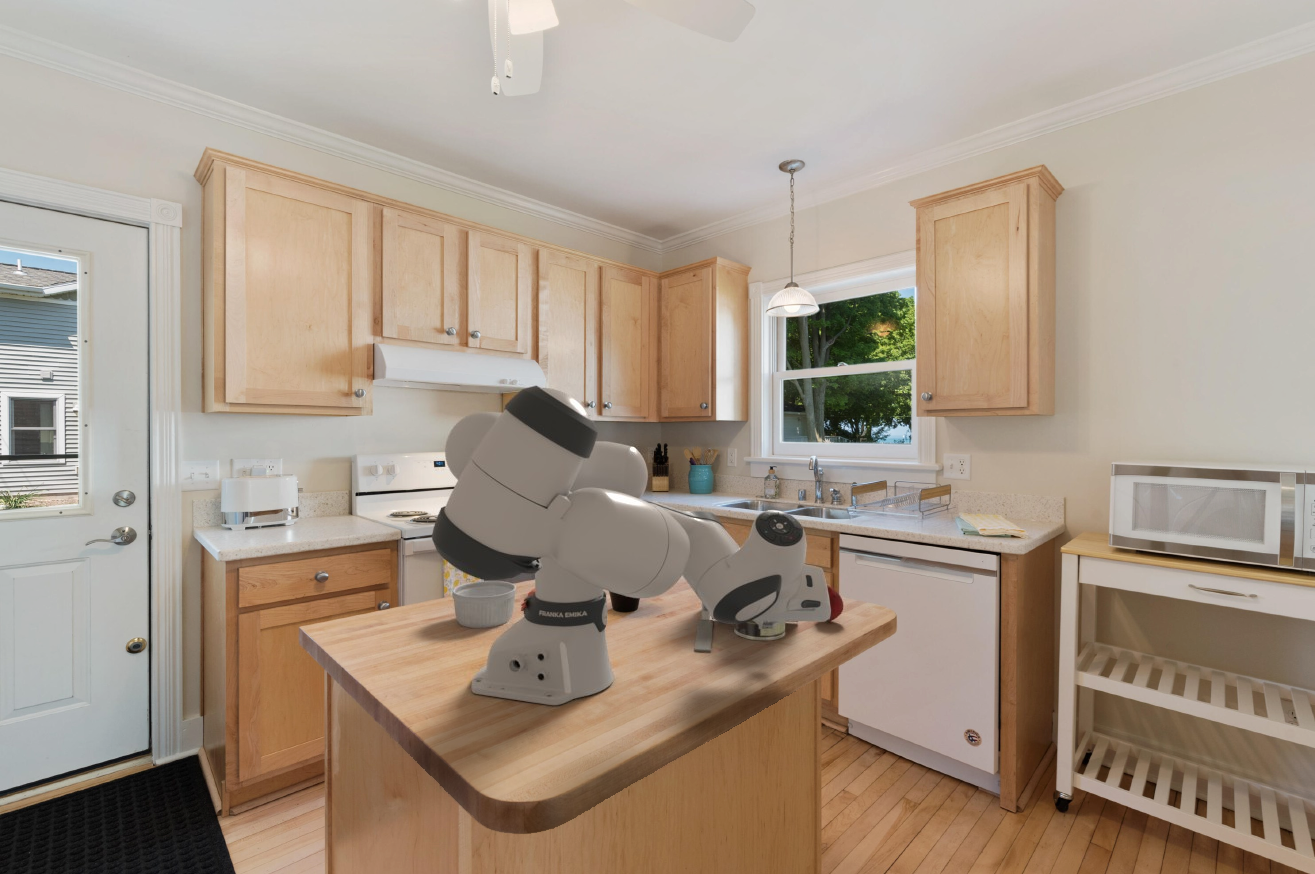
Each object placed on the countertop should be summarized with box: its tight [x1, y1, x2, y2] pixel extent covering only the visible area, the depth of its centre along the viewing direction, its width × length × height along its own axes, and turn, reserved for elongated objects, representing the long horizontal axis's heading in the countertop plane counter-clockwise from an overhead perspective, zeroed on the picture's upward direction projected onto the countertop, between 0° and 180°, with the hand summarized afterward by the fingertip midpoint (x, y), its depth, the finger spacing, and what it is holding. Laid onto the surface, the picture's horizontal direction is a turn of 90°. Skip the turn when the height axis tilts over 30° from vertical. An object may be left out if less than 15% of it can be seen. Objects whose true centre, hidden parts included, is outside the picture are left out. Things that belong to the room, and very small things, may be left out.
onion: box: [825, 583, 844, 623], centre depth 131 cm, size 6×6×8 cm
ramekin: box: [451, 580, 517, 629], centre depth 132 cm, size 13×13×7 cm
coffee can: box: [733, 621, 786, 642], centre depth 125 cm, size 10×10×14 cm
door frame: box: [694, 602, 714, 653], centre depth 128 cm, size 3×28×16 cm, turn 174°
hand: (766, 625), depth 110 cm, fingers closed
